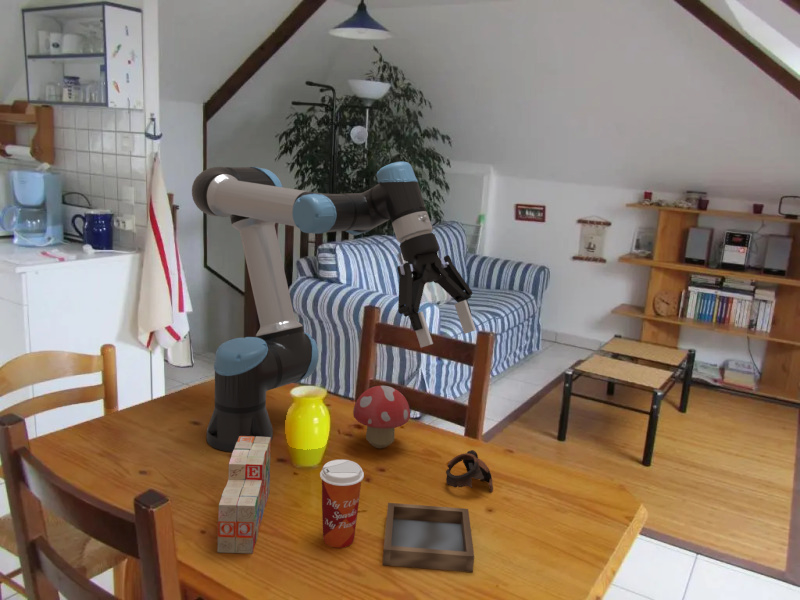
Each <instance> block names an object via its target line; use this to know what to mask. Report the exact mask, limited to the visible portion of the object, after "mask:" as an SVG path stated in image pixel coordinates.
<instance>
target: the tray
mask: <svg viewBox="0 0 800 600" xmlns="http://www.w3.org/2000/svg"><path fill="white" fill-rule="evenodd" d="M386 510H387V511H386V520H385V521H386V522H385V532H384V540H383V541H384V542H383V543H384V544H383V554H382V566H392V567H402V568H403V567H404V568H405V567H406V568H417V569H426V570H427V569H431V570H439V571H441V570H443V571H453V572H455V571H456V572H467V573H473V571H474V563H475V552H474V543H473V537H472V529H471V519H470V512H469V508H461V507H447V506H438V505H437V506H436V505H421V504H410V503H409V504H408V503H396V502H387V509H386Z"/></svg>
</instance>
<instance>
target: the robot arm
mask: <svg viewBox="0 0 800 600" xmlns="http://www.w3.org/2000/svg"><path fill="white" fill-rule="evenodd" d="M376 178H377V180H376V181H377V184H376V185H375V186H373V187H372V188H370V189H368V190H365V191H364V192H359V193H357V192H356V193H350V192H349V193H323V192H316V191H308V190H303V189H302V190H301V189H296V188H289V187H283V185H282V183H281V180H280V179H279V177H278V176H277V175H276V174H275V173H274V172H272V171H271V170H269V169H268V168H264V167H263V168H262V167H256V166H247V167H246V166H245V167H244V166H243V167H242V166H241V167H240V166H239V167H237V166H235V167H234V166H232V167H231V166H228V167H226V166H215V167H210V168H207V169H205V170H203V171H201V172H200V173H199V174H198V175H197V176H196V177H195V178H194V180H193V183H192V187H191V197H192V200H193V202H194V204H195V206H196V207H197V209H199V211H201V212H202V213H204V214H206V215H207V216H212V217H219V218H230V224H231V227H232V228H233V229H235V230H236V231H238V232H239V235H240V239H241V243H242V248H243V253H244V258H245V263H246V265H247V271H248V276H249V280H250V284H251V290H252V295H253V298H254V304H255V308H256V312H257V317H258V321H259V330H258V331H257V333H256V334H255V336H245V337H236V338H232V339H230V340H226V341H224V342H223V343H221V344H220V345H219V346H218V347H217V348H216V352H215V355H214V356H215V358H214V363H213V369H214V408H213V412H212V414H211V416H210V420H209V423H208V425H207V428H206V442H207V444H208V445H209V446H211V447H212V448H214V449H216V450H220V451H222V452H223V451H224V452H231V453H233V450H234V448H235V445H236V442H237V441H238V438H239V436H254V437H256V436H258V437H271V441H272V440H273V434H274V433H273V431H274V429H273V425H272V422H271V419H270V416H269V413H268V409H267V392H268V391H270V390H274V389H278V388H280V387H284V386H286V385H291V384H296V383H299V382H301V381H303V380H305V379H308V378H309V377H311V375H312V374H314V372H315V369H316V368H317V366H318V363H319V356H320V355H319V347H318V345H317V342H316V340H315V339H314V338H313V337H312V335H311V334H310V333H308V332H305V330H304V326H303V325H304V324H302V323H300V322H298V321H297V320H296V318H295V314H294V309H293V303H292V300H291V296H290V291H289V286H288V281H287V280H288V279H287V277H286V272H285V269H284V268H285V267H284V263H283V258H282V255H281V249H280V244H279V240H278V236H277V231H276V227H275V225H276V224H281V225H284V226H285V225H286V226H290V227H296V228H298V230H300V231H301V232H302V233H305V234H317V235H318V234H319V235H321V234H325V233H335V232H346V233H349V234H350V235H352V236H358V235H361V234H364V233H368V232H371V230H373V229H374V228H376V227H379V226H380V225H383V224H384V223H386V222H388V221H389V220H390V222H391V225H392V229H393V232H394V233H395V238H396V241H397V242H398V243H400V244H399V249H400V253H401V256H402V258H403V259H402V260H404V261H405V263H403V264H400V265H398V266H397V269H396V270H397V273H398V277H399V279H398V303H397V304H398V306H397V308H398V309H397V311H398V314H400V315H403V316H404V317H408V318H409V321H410V324H411V327H412V330H413V332H415V334H416V337H417V340H418V344H419V346H420V349H422V348H424V347H427V346H430V345H433V344H434V342H433V339H432V336H431V334H430V330H429V327H428V324H427V320H426V318H425V315H424V312H423V310H422V311H419V310H420V307H421V304H422V303H421V302H422V299H423V293H424V288H425V286H426V284H427V283H435V284H438V285H439V286H440V287H441V289H443V290H444V291H445V292H446V293H447V294H449V296H450V297H451V298H452V299H453V300H454V301H455V302H456V303H454V307H455V309H456V313H457V317H458V319H459V322H460V326H461V328H462V330H463V331H462V332H463V334H464V335H465V334H468V333H471V332H474V331H477V328H476V326H475V323H474V319H473V316H472V310H471V307H470V305H469V302H468V300H469V299H471V297H472V295H473V291H472V289H471V288H470V286H469V285H468V283H467V282H466V281H465V279H464V278H463V276H462V275H461V274H460V272H459V271H458V270H457V268H456V267H455V265H454V263H453V261H452V258H451V257H450V255H448V254H447V255H445V256H443V257H439V255H438V253H439V250H440V245H439V243H438V239H437V237H436V234H435V233H433V232H432V231H433V230H434V229H433V225H432V223H431V219H430V217H429V213H428V210H427V208H426V204H425V202H424V199H423V195H422V193H421V189H420V186H419V185H420V184H419V180H418V179H417V177H416V175H415V171H414V169H413V167H412V164H410V163H409V162H408V161H407V162H406V161H395V162H391V163H389V164H387V165H385V166H383V167H381V168H380V169H379V170H378V171H376Z"/></svg>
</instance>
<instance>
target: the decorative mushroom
mask: <svg viewBox="0 0 800 600" xmlns="http://www.w3.org/2000/svg"><path fill="white" fill-rule="evenodd" d="M410 410H411V409H410V405H409V402H408V401H407V398H406V397H405V396H404V395H403V394H402V393H401V392H400V391H399V390H397V389H396V388H394V387H392V386H388V385H376V386H372V387H369V388H367V389H366V390H365V391H363V393H361V394H360V396H358V398H357V399H356V402H355V403H354V407H353V412H352V415H353V418H355V420H356V421H357V422H358V423H360V424H361V425H363V426H366V434H365V440H366V441H368V443H369V444H370V445H372V447H374V448H377V449H384V448H387V447H388V446H390V445H391V444H393V443H394V442H395V428H399V427H402V426H403V425H405V424H407V423H408V422H409V421H410V418H411V411H410Z"/></svg>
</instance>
